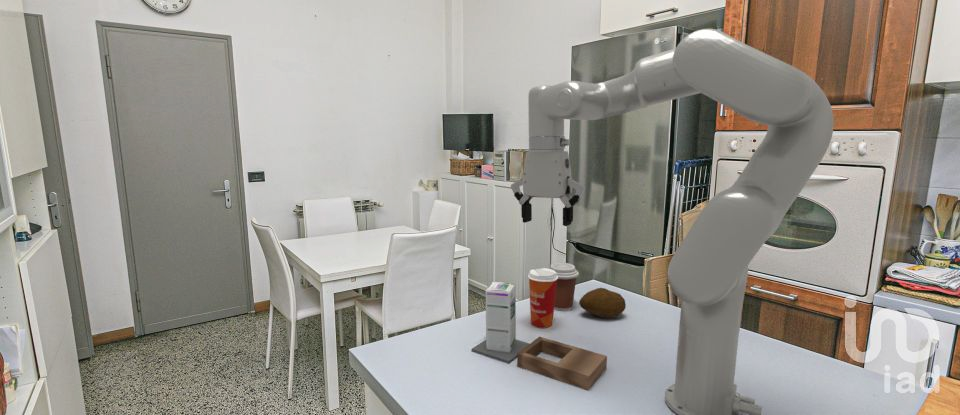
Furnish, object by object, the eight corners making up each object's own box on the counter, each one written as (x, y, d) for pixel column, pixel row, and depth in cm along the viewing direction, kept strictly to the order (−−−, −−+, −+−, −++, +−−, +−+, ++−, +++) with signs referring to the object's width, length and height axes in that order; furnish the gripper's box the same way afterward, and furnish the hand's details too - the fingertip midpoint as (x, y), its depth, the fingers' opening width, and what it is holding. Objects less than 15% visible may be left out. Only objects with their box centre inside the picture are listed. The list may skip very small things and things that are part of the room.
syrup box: (510, 353, 104) (511, 291, 101) (485, 350, 105) (485, 288, 103) (515, 342, 109) (516, 283, 107) (491, 339, 111) (491, 280, 108)
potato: (630, 321, 123) (631, 293, 122) (584, 323, 122) (585, 294, 120) (618, 309, 131) (619, 283, 130) (575, 311, 130) (576, 284, 128)
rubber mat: (531, 346, 108) (531, 344, 108) (509, 363, 100) (509, 361, 100) (495, 335, 114) (495, 333, 114) (471, 351, 106) (471, 348, 106)
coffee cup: (566, 299, 139) (568, 260, 137) (584, 309, 131) (585, 268, 129) (539, 303, 136) (540, 263, 134) (555, 314, 127) (557, 272, 125)
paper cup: (521, 320, 123) (522, 269, 121) (546, 315, 126) (547, 266, 124) (537, 332, 116) (538, 278, 114) (562, 326, 119) (564, 274, 117)
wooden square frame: (606, 369, 98) (607, 355, 98) (588, 390, 90) (588, 376, 90) (538, 348, 107) (539, 336, 107) (517, 366, 99) (517, 353, 99)
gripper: (591, 144, 98) (590, 223, 101) (519, 145, 108) (520, 218, 110) (577, 144, 92) (577, 229, 95) (502, 146, 102) (504, 223, 104)
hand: (546, 223), depth 102 cm, fingers open, 9 cm apart
